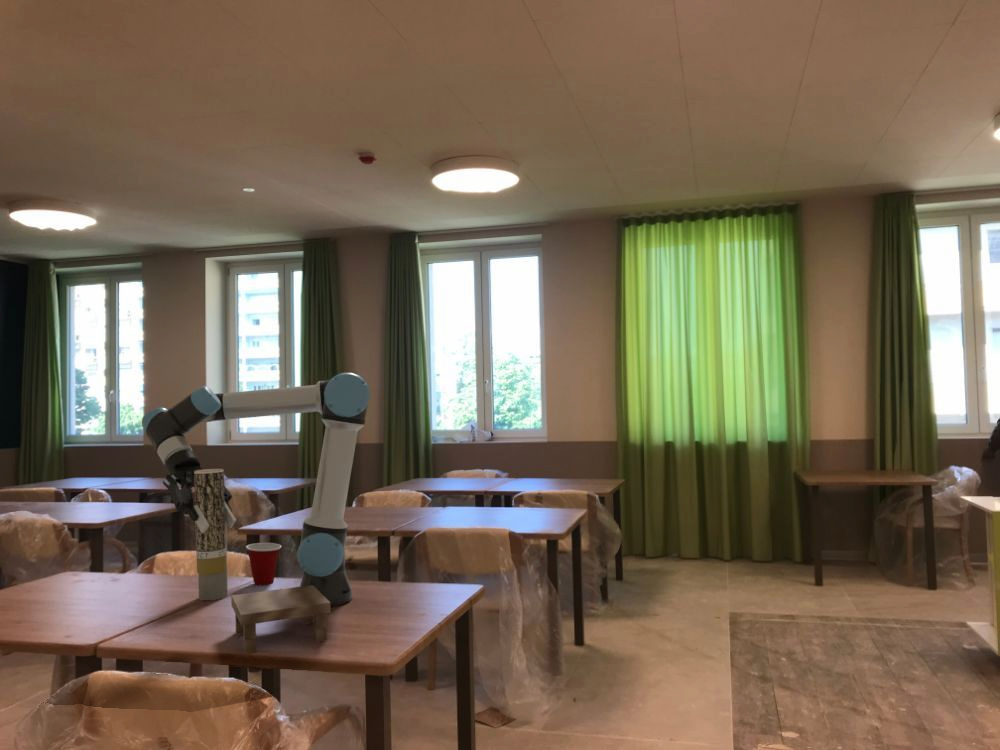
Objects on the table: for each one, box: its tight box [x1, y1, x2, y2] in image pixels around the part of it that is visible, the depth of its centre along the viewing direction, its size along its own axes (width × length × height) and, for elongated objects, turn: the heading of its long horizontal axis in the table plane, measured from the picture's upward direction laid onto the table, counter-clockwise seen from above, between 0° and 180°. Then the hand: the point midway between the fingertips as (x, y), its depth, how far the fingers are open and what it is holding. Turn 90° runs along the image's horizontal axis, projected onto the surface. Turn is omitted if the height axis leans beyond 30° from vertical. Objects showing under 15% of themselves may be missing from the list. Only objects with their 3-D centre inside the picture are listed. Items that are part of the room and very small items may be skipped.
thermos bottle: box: [197, 522, 229, 601], centre depth 223 cm, size 8×8×28 cm
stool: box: [230, 585, 331, 655], centre depth 182 cm, size 20×20×9 cm
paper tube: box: [193, 468, 228, 575], centre depth 184 cm, size 7×7×25 cm
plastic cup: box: [245, 542, 282, 586], centre depth 238 cm, size 11×11×12 cm
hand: (219, 526), depth 182 cm, fingers closed on paper tube, 7 cm apart
